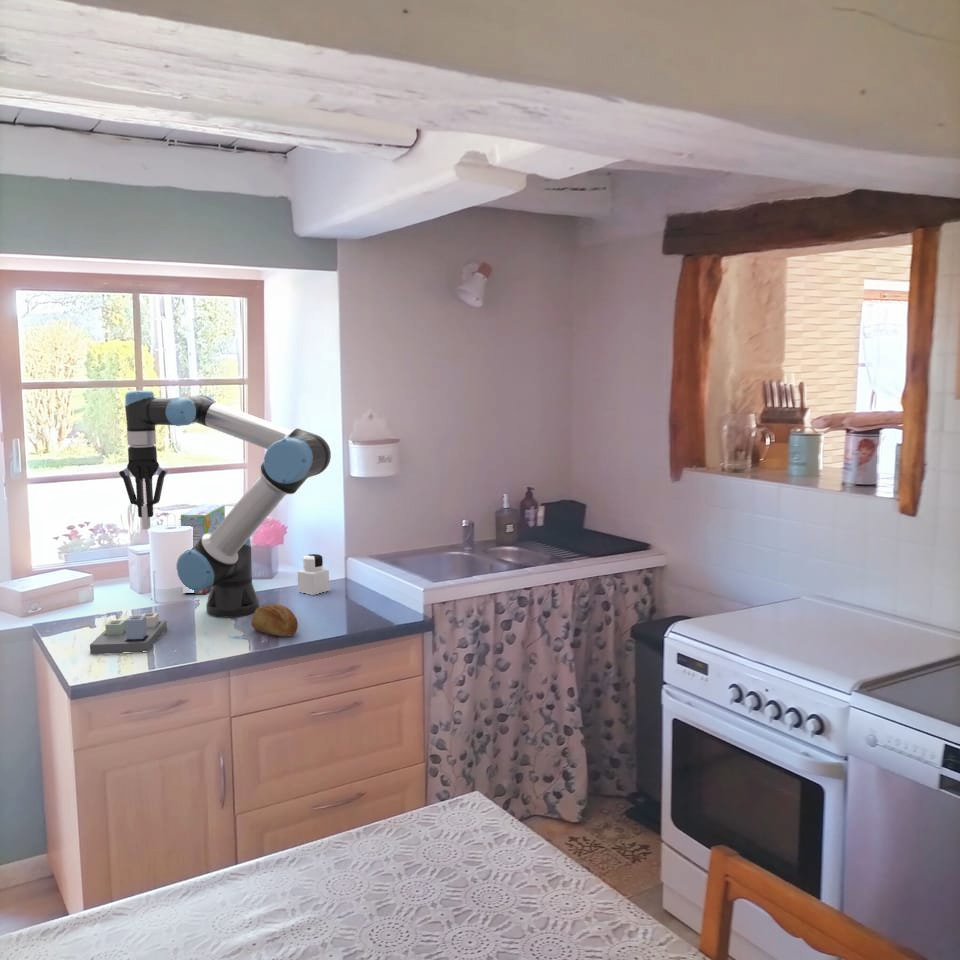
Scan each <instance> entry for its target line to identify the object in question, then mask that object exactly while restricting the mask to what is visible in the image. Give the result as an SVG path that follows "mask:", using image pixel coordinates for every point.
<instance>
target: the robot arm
mask: <svg viewBox="0 0 960 960" xmlns="http://www.w3.org/2000/svg"><path fill="white" fill-rule="evenodd" d="M124 400H125V405H124V408H125V417H126V436H127V437H126V438H127V439H126V441H127V445H128V448H127V457H128V459H127V460H128V463H127V466H126V468H124V469H122V470H120V471H119V472H118V473H119V476H120V477H121V478H122V480H123V483H124V486H125V489H126V492H127V495H128V499H129V503H130V504H131V505H135V506H137V514H138V515H137V516H138V518H141V524H142V530H149V529H150V528H152V527H151V526H152V525H151V518H153V516H154V505H156V504H158V503H159V502H160V500H161V496H162V491H163V487H164V486H163V485H164V482H165V477H166V475H168V472H169V471H168V469H164V468H162V467H160V464H159V462H158V454H157V453H158V452H157V447H156V444H157V437H156V436H157V435H156V433H157V431H156V426H175V427H180V426H181V427H182V426H190V425H192V424H194V423H195V424H199V425H202V426H205V427H208V428H210V429H213V430H216V431H218V432H221V433H222V434H223V433H224V434H226V435H228V436H232V437H234V438H237V439H239V440H242V441H245V442H247V443H249V444H252V445H255V446H258V447H260V448H264V449H266V452H265V455H264V456H263V458H264V459H263V462H262V463H261V465H260V466H259V469H260V474H259V476H258V477H257V478H256V480H254V482H253V484H251V486H250V487H249V488H248V490H246V492H245V493H244V494H243V495H242V496H241V498H240V499H239V500H238V502H237V503H236V504H235V505H234V506H233V508H231V509H230V511H229V513H227V515H225V519H224V520H223V521H222V522H221V523H220V525H219V526H218V527H217V528H216V529H215V531H214V532H213V533H206V534H205V535H203V536H202V538H201V539H200V540H199V541H198V543H197V544H196V545H195V546H194V547H193V548H192V549H191V550H187V551H185V552H184V553H183V554H182V553H180V556H179V557H178V558H177V561H176V570H177V571H176V572H177V576H178V578H179V580H180V581H181V584H182V583H183V584H184V585H185V586H186V587H188V588H189V589H192V590H196V591H201V590H205V589H209V588H210V587H211V590H210V591H209V593H208V598H207V601H206V602H207V603H206V604H205V605H206V606H205V607H206V608H205V609H206V611H205V612H206V614H207V615H209V616H211V617H216V618H217V617H218V618H232V617H233V618H234V617H242V616H247V614H248V615H250V613H251V614H254V613H253V612H255V610H256V609H257V608H259V607H260V601H259V598H258V595H257V593H256V590H255V587H254V584H253V571H252V570H253V569H252V566H253V563H252V544H251V537H252V535H253V534H254V533H255V532H256V531H257V530H258V528H259V527H260V526H261V525H262V524H263V523H264V521H265V520H266V519H267V518H268V516H270V514H271V513H272V512H273V511H274V510H275V508H276V507H277V506H278V505H279V504H280V502H281V501H282V500H283V499H284V498H285V496H287V495H294V494H295V493H297V491H298V490H299V489H300V488H301V486H302V485H303V484H304V483H305V482H306V480H307V479H309V478H311V477H314V476H317V475H320V474H321V473H323V472H324V471H325V470H326V469H327V468H328V466H329V464H330V463H331V459H332V457H331V456H332V451H331V448H330V445H329V444H328V442H327V441H326V439H324V438H323V437H322V436H320V435H318V434H316V433H313V432H310V431H307V430H303V429H301V428H293V429H290V428H287V427H285V426H282V425H279V424H276V423H274V422H270V421H268V420H266V419H263V418H260V417H258V416H254V415H252V414H249V413H246V412H244V411H241V410H238V409H236V408H232V407H230V406H226V405H225V404H222V403H219V402H217V401H216V400H215V399H214V398H213V397H211V396H209V395H203V394H201V395H192V396H181V397H155V393H154V392H153V390H129V391H127V392H126V393H125V398H124ZM156 472H157V480H156V485H155V490H154V493H153V477H154V476H155V474H156ZM131 474H132V476H133V478H134V480H135V488H136V489H134V485H133V482H132V479H131V476H130V475H131ZM144 483H145V495H146V496H145V499H146V504H145V501H144V500H145V499H144ZM135 490H136V493H135Z"/></svg>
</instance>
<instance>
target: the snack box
mask: <svg viewBox="0 0 960 960" xmlns="http://www.w3.org/2000/svg"><path fill="white" fill-rule="evenodd" d="M225 513H226V508H225V505H224V504H201V505H199V506H196V507H194V508H192V509H190V510H188V511H186V512H183V513H181V514H180V527H181V526H191V527H193V547H194V546H195V545H196V544H197V543H198V541H199V540H200V539H201V538H202V536H203V535H205V534H206V533H213V532H214V531H215V529H216V528H217V527H218V526H219V525H220V523H221V522H222V521H223V520H224V519H225V517H226V514H225ZM210 590H211V587H210V588H209V589H205V590H201V591H196V590H194V593H195V594H196V595H206V594H209V593H210ZM195 594H194V595H195Z"/></svg>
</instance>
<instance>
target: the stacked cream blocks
mask: <svg viewBox="0 0 960 960" xmlns="http://www.w3.org/2000/svg"><path fill="white" fill-rule="evenodd" d="M323 559H324V558H323V556H322V555H321V554H318V553H317V554H316V553H313V554H306V555H304V556H303V558H302V561H303V562H302V563H303V569H300V570H298V571H297V590H298V591H299V592H304V593H308V594H312V595H311V596H313V595H314V596H316V595H315V594H318V595H320V594H319V593H321V594H323V593H322V592H324V593H327V592H326V591H328V592H330V571H329V569H327V568H323V567H324V565H323V563H324V562H323ZM298 591H297V592H298ZM299 592H298V593H299ZM308 594H307V595H308Z"/></svg>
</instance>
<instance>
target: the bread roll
mask: <svg viewBox="0 0 960 960" xmlns="http://www.w3.org/2000/svg"><path fill="white" fill-rule="evenodd" d="M252 614H253V615H252V618H251V626H252V628H253V629H254V630H255V631H257V632H262V633H266V634H269V635H273V636H277V635H278V637H290V636H289V635H291V636H294V635H296V633H297V630H298V627H299V624H298V619H297V617H296V616H295V613H294V612H293V611H292V609H290V608H288V607H287V606H284V605H283V604H280V603H279V604H278V603H277V604H276V603H270V604H266V605H261V606H259V608H257V609H256V610H255V612H254V613H252Z"/></svg>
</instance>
